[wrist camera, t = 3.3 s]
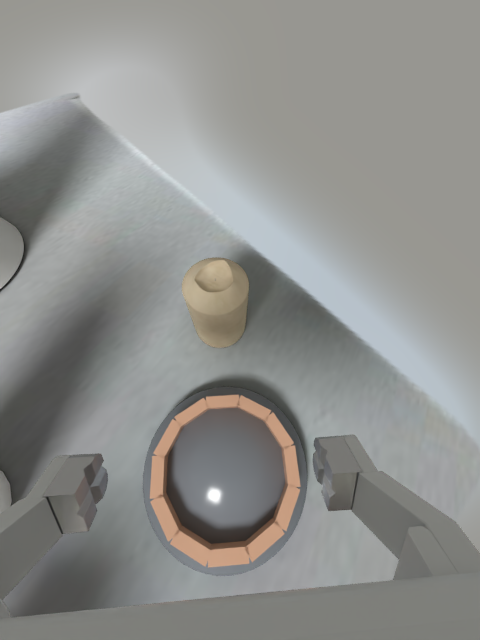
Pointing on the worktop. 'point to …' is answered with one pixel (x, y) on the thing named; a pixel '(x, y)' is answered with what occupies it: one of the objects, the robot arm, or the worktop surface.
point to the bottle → (4, 493)
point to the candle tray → (225, 481)
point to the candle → (217, 300)
